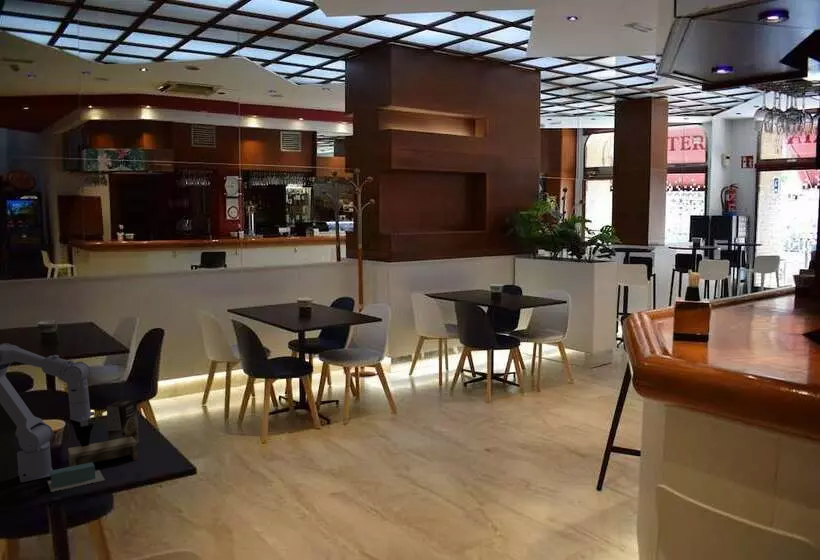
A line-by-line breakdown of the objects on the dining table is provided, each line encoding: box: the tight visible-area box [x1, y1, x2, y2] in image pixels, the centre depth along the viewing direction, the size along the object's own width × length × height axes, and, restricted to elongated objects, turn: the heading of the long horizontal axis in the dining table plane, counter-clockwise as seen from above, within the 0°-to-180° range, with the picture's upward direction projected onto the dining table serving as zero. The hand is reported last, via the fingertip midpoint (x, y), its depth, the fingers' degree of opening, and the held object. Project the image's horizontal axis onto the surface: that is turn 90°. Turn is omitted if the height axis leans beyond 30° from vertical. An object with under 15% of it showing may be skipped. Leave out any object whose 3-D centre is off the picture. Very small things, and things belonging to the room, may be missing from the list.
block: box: [50, 462, 96, 487], centre depth 214 cm, size 4×12×4 cm, turn 123°
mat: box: [47, 469, 106, 493], centre depth 214 cm, size 15×10×1 cm, turn 123°
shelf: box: [67, 436, 138, 467], centre depth 229 cm, size 20×7×6 cm, turn 123°
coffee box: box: [106, 399, 140, 445], centre depth 245 cm, size 9×6×16 cm
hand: (83, 442), depth 219 cm, fingers open, 7 cm apart
